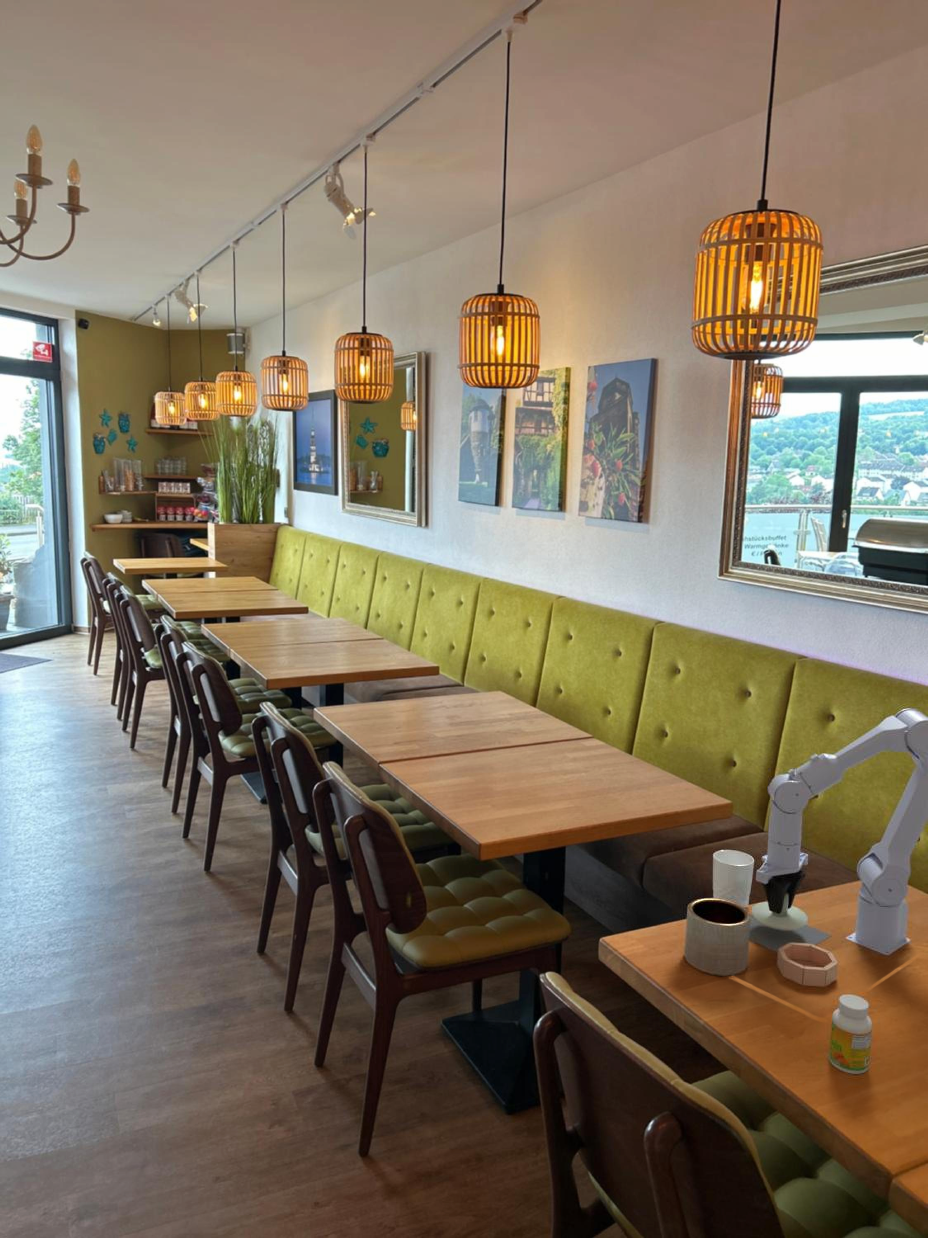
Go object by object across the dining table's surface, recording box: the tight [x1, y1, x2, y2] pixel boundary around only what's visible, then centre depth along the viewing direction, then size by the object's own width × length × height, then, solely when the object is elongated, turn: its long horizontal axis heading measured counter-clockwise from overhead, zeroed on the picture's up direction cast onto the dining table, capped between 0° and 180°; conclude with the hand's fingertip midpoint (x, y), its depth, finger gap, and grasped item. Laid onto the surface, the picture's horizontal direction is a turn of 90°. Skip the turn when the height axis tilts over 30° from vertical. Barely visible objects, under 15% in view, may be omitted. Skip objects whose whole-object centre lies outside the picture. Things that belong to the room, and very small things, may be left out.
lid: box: [750, 892, 809, 931], centre depth 170 cm, size 10×10×5 cm
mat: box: [749, 914, 833, 954], centre depth 170 cm, size 14×14×1 cm
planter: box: [684, 897, 751, 977], centre depth 160 cm, size 11×11×10 cm
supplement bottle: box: [828, 993, 873, 1075], centre depth 131 cm, size 5×5×10 cm
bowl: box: [776, 942, 839, 987], centre depth 156 cm, size 9×9×4 cm
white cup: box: [712, 849, 755, 909], centre depth 182 cm, size 8×8×10 cm
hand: (779, 909), depth 170 cm, fingers closed on lid, 3 cm apart
